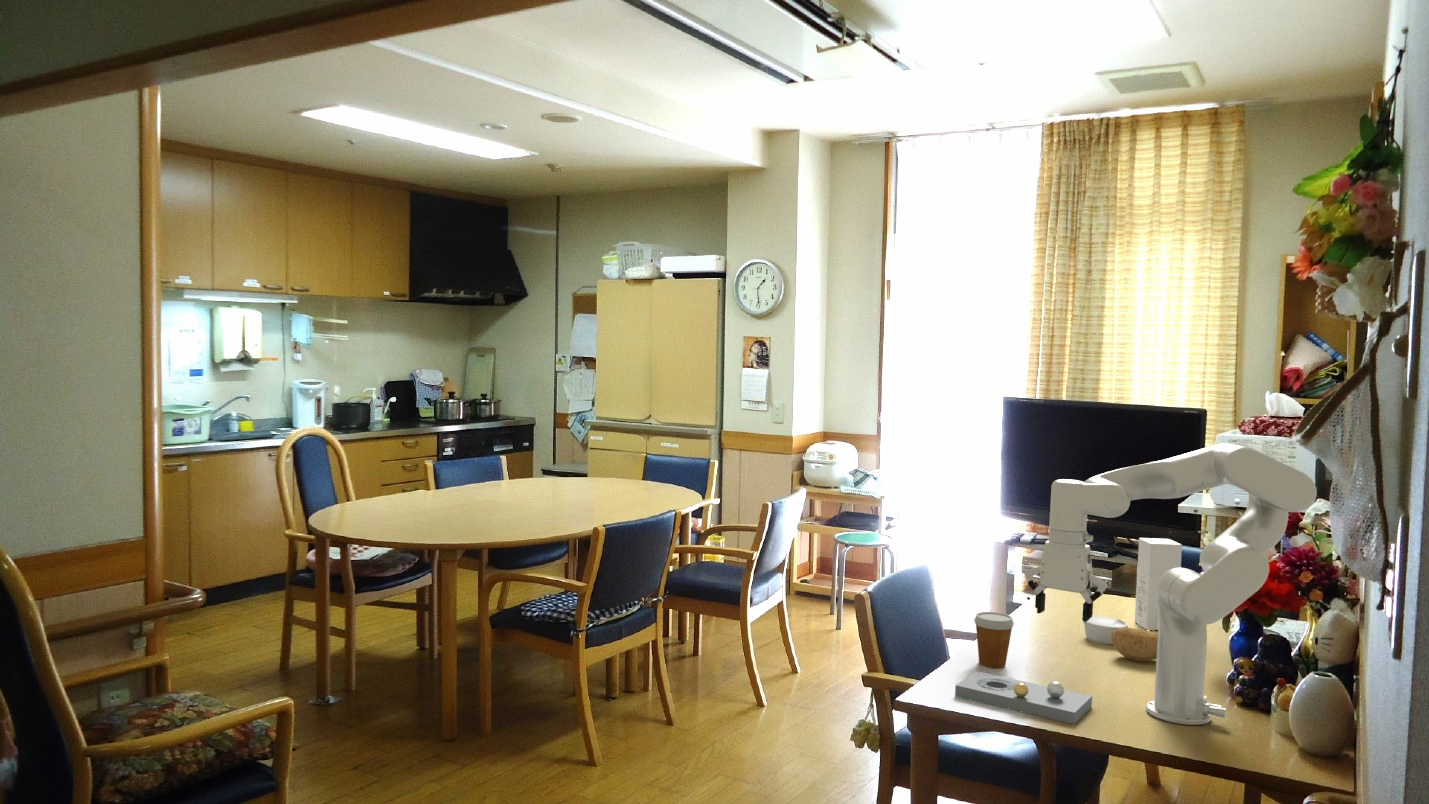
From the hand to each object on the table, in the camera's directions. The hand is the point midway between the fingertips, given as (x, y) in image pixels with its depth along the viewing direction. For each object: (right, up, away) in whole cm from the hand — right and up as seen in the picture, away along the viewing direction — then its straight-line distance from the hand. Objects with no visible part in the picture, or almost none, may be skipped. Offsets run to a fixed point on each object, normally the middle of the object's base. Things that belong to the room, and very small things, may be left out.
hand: (1063, 616), depth 214 cm
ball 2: (-1, -16, +1) cm, 16 cm away
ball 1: (-9, -16, +1) cm, 18 cm away
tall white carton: (+52, -19, +71) cm, 90 cm away
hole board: (-7, -20, +5) cm, 22 cm away
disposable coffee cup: (-6, -19, +32) cm, 38 cm away
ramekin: (+31, -19, +57) cm, 67 cm away
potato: (+33, -20, +39) cm, 55 cm away
